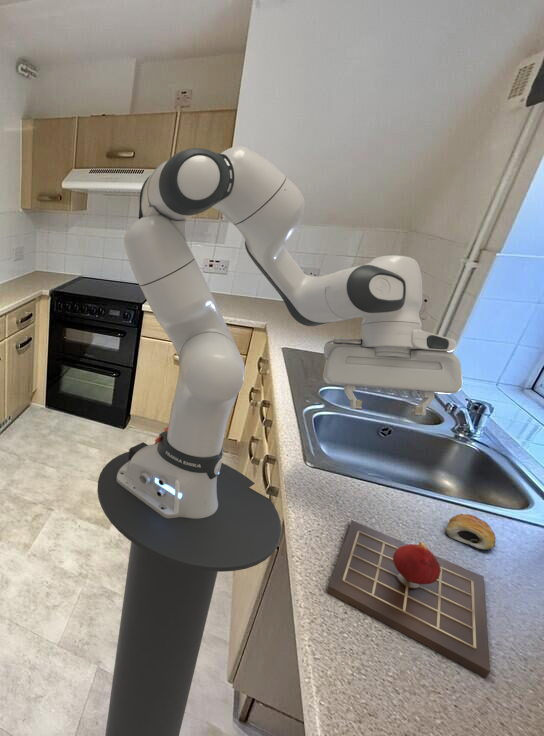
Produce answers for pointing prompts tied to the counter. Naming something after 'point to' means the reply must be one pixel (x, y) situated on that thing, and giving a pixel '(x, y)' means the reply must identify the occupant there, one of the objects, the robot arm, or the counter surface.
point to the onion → (417, 564)
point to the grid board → (415, 598)
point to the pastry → (471, 531)
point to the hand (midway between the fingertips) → (386, 412)
